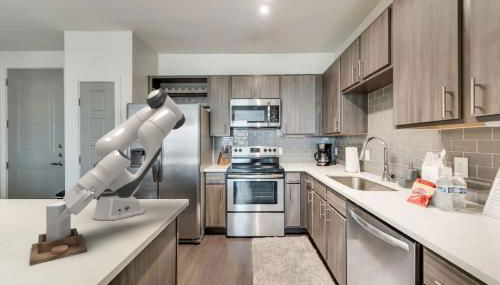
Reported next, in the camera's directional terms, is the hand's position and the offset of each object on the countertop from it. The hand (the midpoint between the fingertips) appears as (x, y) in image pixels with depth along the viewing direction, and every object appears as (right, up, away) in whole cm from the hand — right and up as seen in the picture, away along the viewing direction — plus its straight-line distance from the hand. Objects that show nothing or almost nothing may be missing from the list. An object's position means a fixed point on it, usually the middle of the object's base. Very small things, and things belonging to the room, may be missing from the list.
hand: (56, 218), depth 82 cm
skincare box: (0, -7, 0) cm, 7 cm away
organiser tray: (+2, -10, -1) cm, 10 cm away
